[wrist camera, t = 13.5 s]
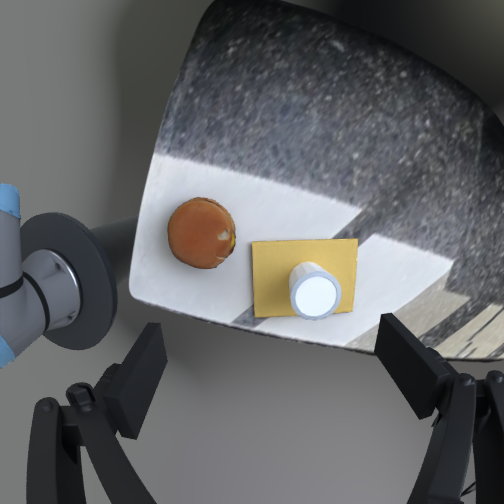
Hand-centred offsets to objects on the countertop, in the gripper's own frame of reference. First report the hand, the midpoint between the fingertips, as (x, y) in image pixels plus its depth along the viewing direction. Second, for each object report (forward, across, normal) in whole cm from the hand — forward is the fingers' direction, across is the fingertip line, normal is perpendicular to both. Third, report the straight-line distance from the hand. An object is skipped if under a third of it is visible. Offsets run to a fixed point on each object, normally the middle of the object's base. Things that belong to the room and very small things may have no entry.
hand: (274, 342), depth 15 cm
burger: (+27, -8, +2) cm, 28 cm away
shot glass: (+26, +7, -6) cm, 28 cm away
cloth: (+26, +7, -6) cm, 28 cm away
